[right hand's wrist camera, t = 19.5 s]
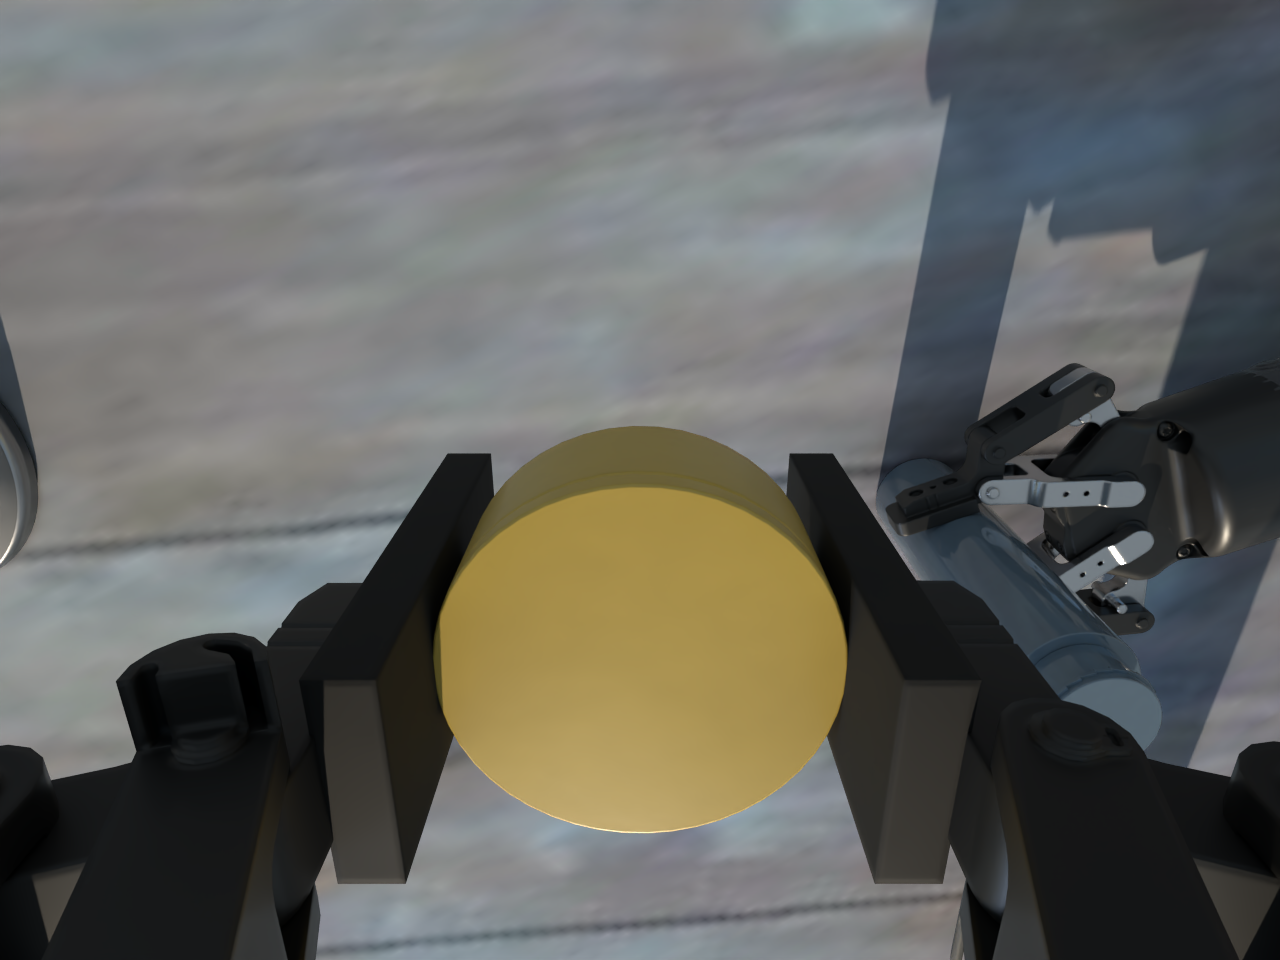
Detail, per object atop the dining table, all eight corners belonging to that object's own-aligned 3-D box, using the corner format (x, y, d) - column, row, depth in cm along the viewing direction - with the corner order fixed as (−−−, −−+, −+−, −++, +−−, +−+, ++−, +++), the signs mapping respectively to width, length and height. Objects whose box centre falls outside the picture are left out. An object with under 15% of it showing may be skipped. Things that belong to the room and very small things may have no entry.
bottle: (977, 476, 43) (1206, 694, 26) (933, 547, 45) (1122, 798, 27) (901, 445, 43) (1084, 647, 25) (860, 518, 44) (1004, 756, 27)
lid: (395, 568, 12) (344, 653, 10) (665, 348, 11) (671, 392, 9) (620, 780, 13) (616, 891, 11) (881, 608, 12) (929, 698, 10)
